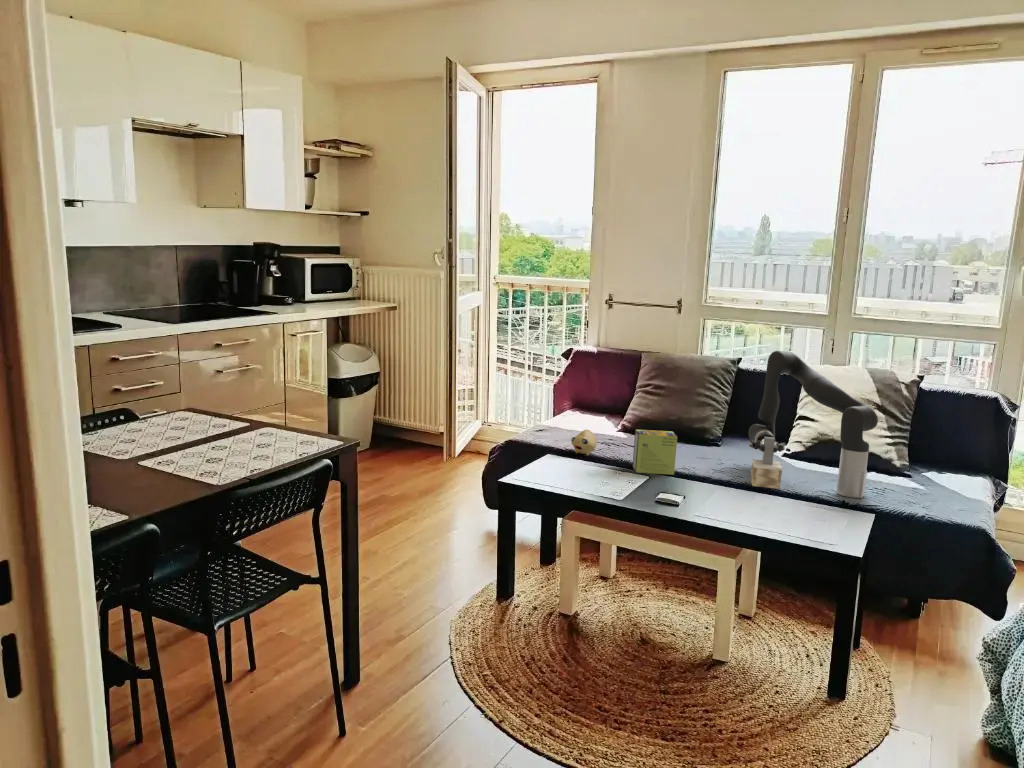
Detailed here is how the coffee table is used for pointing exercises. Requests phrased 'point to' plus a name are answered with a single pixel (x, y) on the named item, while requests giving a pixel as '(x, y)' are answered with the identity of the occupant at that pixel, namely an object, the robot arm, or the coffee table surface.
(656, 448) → the protein box
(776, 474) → the storage box
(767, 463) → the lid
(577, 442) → the yellow toy creature
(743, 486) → the coffee table surface
